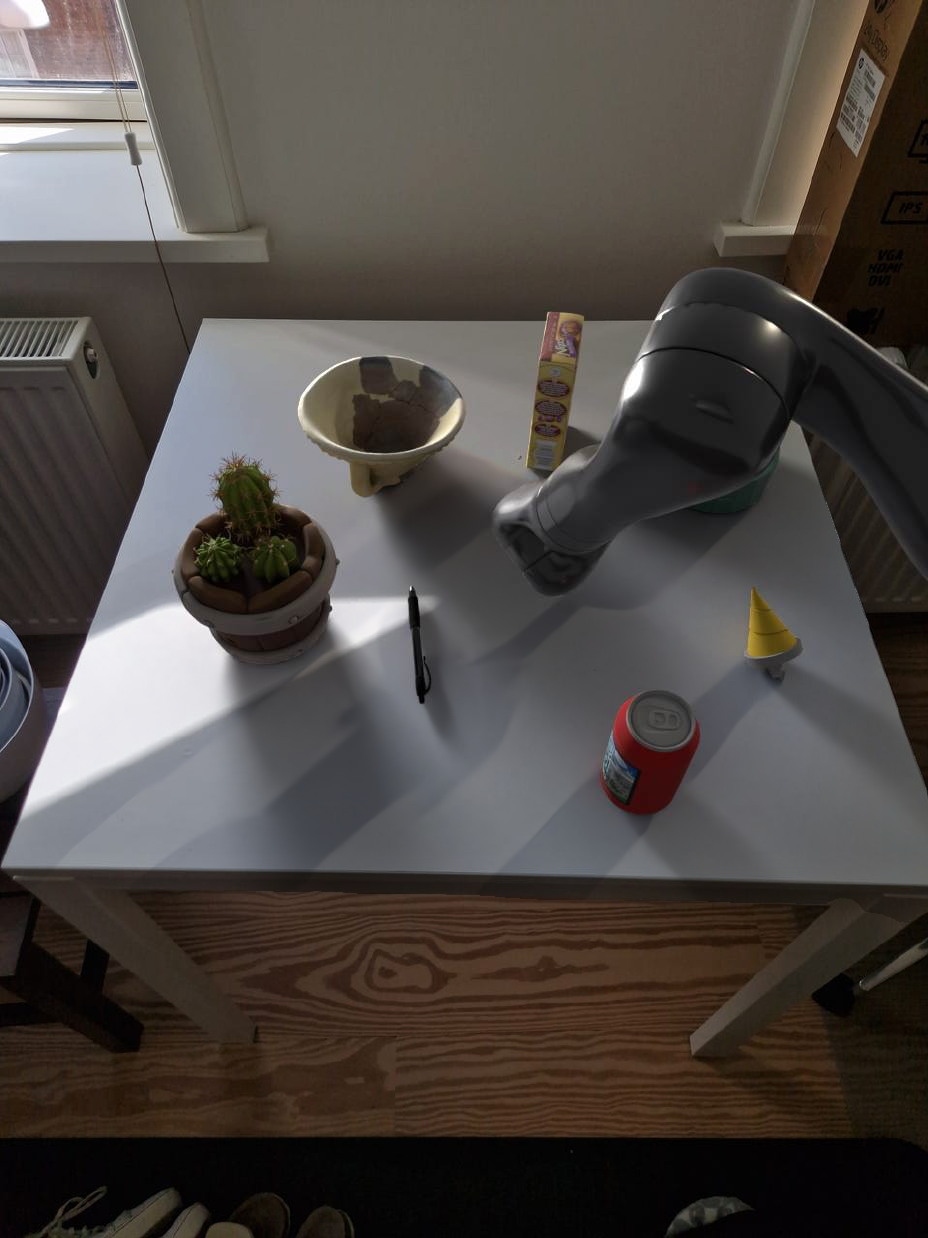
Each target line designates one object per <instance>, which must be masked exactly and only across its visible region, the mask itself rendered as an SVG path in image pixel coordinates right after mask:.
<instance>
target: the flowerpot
mask: <svg viewBox="0 0 928 1238" xmlns="http://www.w3.org/2000/svg"><path fill="white" fill-rule="evenodd" d="M231 454H232V456H231V455H230V456H229V457H230V459H231V460H229V458H228V456H227V459H226V458H224V457H223V456H222V457H221V458H219V459H220V460H222V461H224V462H225V463H223V462H221V463H219V464H221V466H220V468H217V470H218V471H219V472H218V473H217V474H216V472H215V471H213V473H214V475H211V474H208V476H210V477H213V478H212V479H211V481H212V482H214V481H215V485H216V484H217V485H216V486H217V488H214V487H213V486H212V483H210V485H211V488H212V489H214V491H213V490H212V489H211V488H209V490H210V491H211V492H209V494H210V495H208V494H206V496H208V497H210V496H213V498H212V501H218V500H219V501H221V503H222V505H221V504H219V506H220V507H218V506H217V505H215V508H216V510H217V511H216V512H213V513H211V514H209V515H206V516H205V517H204V518H202V519H201V520H199V521H198V522H197V523H196V524H195V526H194V528H193V529H192V530H191V531H190V532H189V534H188V536H187V537H186V538H185V540H184V541H183V542H182V544H181V546H180V547H179V549H178V551H177V554H176V556H175V560H174V565H173V568H172V569H171V574H172V575H173V576H172V577H173V583H174V587H175V589H176V592H177V595H178V597H179V600H180V602H181V604H182V606H183V607H184V609H185V610H186V611H187V612H188V614H189V615H190V616H192V617H193V619H194V620H196V621H197V622H198V623H199V624H201V625H203V626H204V627H207V628H208V629H209V632H210V634H211V636H212V637H213V639H214V640H215V641H216V643H218V645H219V646H220V647H221V648H222V649H223V650H224V651H225V652H226V653H228V654H229V656H232V658H233V659H234V660H241V661H242V662H245V663H250V664H258V665H268V664H269V665H270V664H281V663H284V662H286V661H289V660H292V659H294V658H297V657H299V656H300V655H302V654H304V653H305V652H306V651H308V650H309V649H310V648H311V647H313V645H315V644H316V642H317V641H318V640H319V638H320V637H321V636H322V634H323V632H324V630H325V628H326V626H327V624H328V621H329V618H330V613H331V612H332V611H333V606H332V605H331V596H330V593H329V592H330V590H331V588H332V586H333V583H334V581H335V578H336V575H337V571H338V566H339V564H340V563H341V560H340V559H339V558H338V557H337V555H336V550H335V548H334V545H333V542H332V541H331V538H330V536H329V534H328V533H327V531H326V530H325V528H324V527H323V525H322V524H321V523H320V522H319V521H318V520H317V519H316V518H314V517H313V516H312V515H311V514H309V513H308V512H306V511H304V510H302V509H299V508H297V507H293V506H289V505H286V504H284V503H283V504H281V503H280V500H278V502H277V498H281V495H282V493H283V490H280V491H279V490H278V485H275V488H274V487H272V485H271V484H272V481H273V482H276V483H278V481H277V480H275V479H273V478H274V477H276V476H277V474H275V473H274V474H273V473H271V469H269V474H268V472H267V471H266V470H263V471H264V473H263V472H261V470H262V469H263V468H262V467H261V466H262V464H261V462H262V460H263V459H264V457H262V458H261V459H260V460H259V461H258V460H256V459H253V462H252V461H250V460H251V457H248V461H247V460H246V459H247V455H248V453H246V454H245V455H244V454H243V455H242V456H241V458H240V454H238V455H237V453H235V456H234V452H233V450H231ZM239 458H240V459H239ZM224 466H225V467H224ZM222 467H223V468H222ZM260 469H261V470H260ZM217 482H218V483H217ZM274 500H275V502H274Z"/></svg>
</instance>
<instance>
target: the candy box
mask: <svg viewBox="0 0 928 1238" xmlns="http://www.w3.org/2000/svg"><path fill="white" fill-rule="evenodd" d="M584 320H585V316H584V315H581V314H577V313H570V312H569V313H568V312H557V311H556V312H555V311H549V312H547V315H546V320H545V321H546V322H545V328H544V333H543V339H542V346H541V349H540V350H541V351H540V354H539V359H538V366H537V367H538V368H537V374H536V383H535V389H534V390H535V391H534V398H533V405H532V406H533V407H532V415H531V422H530V423H531V424H530V432H529V438H528V439H529V441H528V448H527V456H526V462H525V463H526V464H525V467H526V468H527V469H534V470H541V471H548V472H554V471H555V470H556V469H557V468H558V467H559V466H560V465H561V464H562V458H563V453H564V449H565V448H564V447H565V442H566V437H567V433H568V425H569V421H570V416H571V409H572V403H573V397H574V392H575V391H574V390H575V384H576V377H577V371H578V365H579V358H580V353H581V352H580V351H581V343H582V336H583V329H584V322H585V321H584Z"/></svg>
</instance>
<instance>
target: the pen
mask: <svg viewBox="0 0 928 1238" xmlns="http://www.w3.org/2000/svg"><path fill="white" fill-rule="evenodd" d="M419 604H420V603H419V597H418V596H417V591H416V589H415V587H414V586H413V585H410V587H409V589H408V597H407V605H408V622H409V629H410V632H411V645H412V657H413V668H414V685H415V694H416V697H418V703H419V704H420V705H424V704H425V703H426V695H427V694H428V693H430V691H431V689H432V683H433V681H432V680H433V679H432V674H431V670H430V668H429V665H428V664H427V662H426V660H427V658H426V655H423V647H422V646H423V645H422V635H421V629H422V628H421V627H422V626H421V614H420V605H419ZM425 671H426V673H427V677H428V685H426V684H427V683H426V678H425Z"/></svg>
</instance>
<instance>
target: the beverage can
mask: <svg viewBox="0 0 928 1238" xmlns="http://www.w3.org/2000/svg"><path fill="white" fill-rule="evenodd" d="M700 740H701V729H700V724H699V721H698V718H697V717H696V714H695V712H694V711H693V708H692V707H691V705H690V704H689V703H688V702H687V701H686V700H685V699H684V698H683V697H681V696H680V695H679V694H676V693H675V692H673V691H670V690H665V689H657V688H656V689H649V690H645V691H642V692H640V693H639V694H636V695H634V696H631V698H629V699H628V700H627V701H625V702H624V703H623V704H622V705H621V707H620V708H619V710H618V712H617V714H616V716H615V719H614V723H613V726H612V729H611V733H610V736H609V740H608V743H607V746H606V750H605V754H604V758H603V760H602V761H603V762H602V766H601V769H600V783H601V786H602V789H603V792H604V793H605V796H606V798H608V800H609V801H610V802H611V803H612V804H613V805H615V807H617V808H619V809H620V810H622V811H624V812H626V813H629V814H633V815H638V816H649V815H653V814H656V813H659V812H660V811H662V810H664V809H665V808H666V807H668V805H669V804H671V802H672V801H673V799H674V797H675V795H676V793H677V791H678V790H679V788H680V786H681V783H682V781H683V780H684V778H685V775H686V773H687V772H688V769H689V767H690V765H691V763H692V761H693V759H694V757H695V754H696V752H697V749H698V747H699V745H700Z"/></svg>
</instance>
